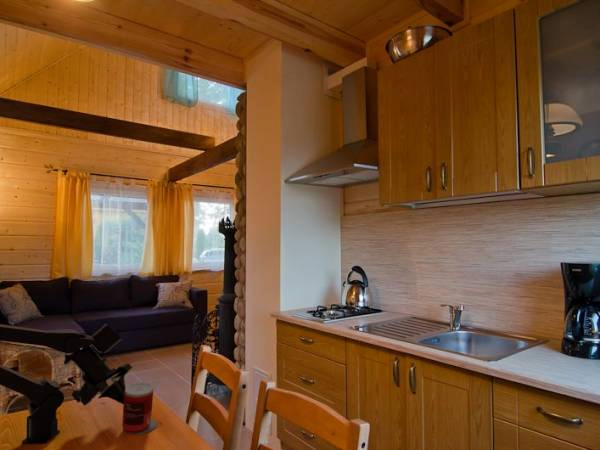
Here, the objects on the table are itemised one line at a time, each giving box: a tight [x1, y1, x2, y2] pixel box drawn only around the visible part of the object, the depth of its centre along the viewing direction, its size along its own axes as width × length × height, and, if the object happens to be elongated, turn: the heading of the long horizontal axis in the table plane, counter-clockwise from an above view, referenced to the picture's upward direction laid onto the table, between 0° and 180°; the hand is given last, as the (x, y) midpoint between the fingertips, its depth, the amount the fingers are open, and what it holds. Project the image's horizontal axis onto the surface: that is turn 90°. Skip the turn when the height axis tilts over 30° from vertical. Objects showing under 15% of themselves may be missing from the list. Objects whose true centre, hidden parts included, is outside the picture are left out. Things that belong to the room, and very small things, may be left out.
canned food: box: [121, 382, 154, 434], centre depth 109 cm, size 8×8×11 cm
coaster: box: [130, 420, 158, 435], centre depth 110 cm, size 8×8×1 cm
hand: (127, 403), depth 111 cm, fingers closed
